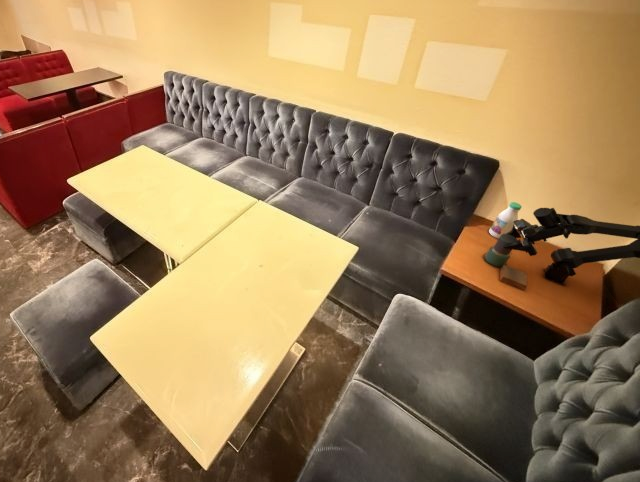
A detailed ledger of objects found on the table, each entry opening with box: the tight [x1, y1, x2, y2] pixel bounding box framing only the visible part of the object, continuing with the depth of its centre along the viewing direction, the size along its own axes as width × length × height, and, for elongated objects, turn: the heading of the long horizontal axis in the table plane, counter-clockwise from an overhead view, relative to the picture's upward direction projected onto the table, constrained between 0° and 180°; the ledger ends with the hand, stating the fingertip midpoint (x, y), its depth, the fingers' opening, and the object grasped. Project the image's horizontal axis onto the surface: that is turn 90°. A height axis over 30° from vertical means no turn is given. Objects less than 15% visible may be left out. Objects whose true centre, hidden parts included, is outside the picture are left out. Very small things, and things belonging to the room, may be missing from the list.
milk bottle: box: [488, 201, 522, 239], centre depth 160 cm, size 8×8×20 cm
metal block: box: [499, 264, 528, 291], centre depth 140 cm, size 8×8×3 cm
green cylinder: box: [483, 245, 511, 269], centre depth 148 cm, size 8×8×8 cm
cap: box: [493, 234, 519, 255], centre depth 144 cm, size 6×6×8 cm
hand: (502, 242), depth 144 cm, fingers closed on cap, 6 cm apart
